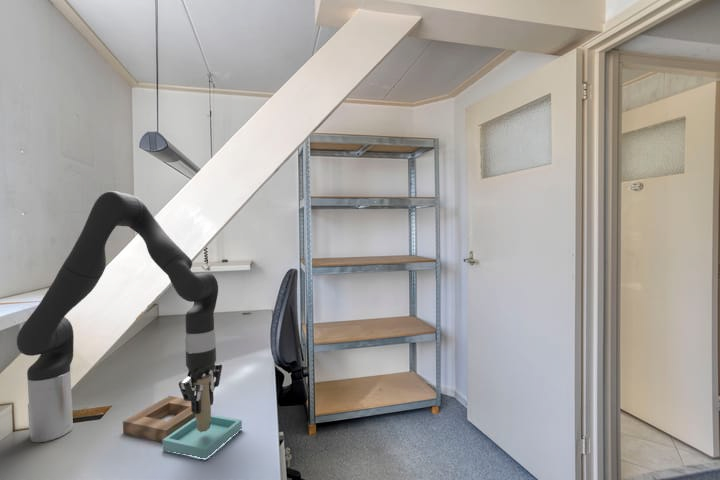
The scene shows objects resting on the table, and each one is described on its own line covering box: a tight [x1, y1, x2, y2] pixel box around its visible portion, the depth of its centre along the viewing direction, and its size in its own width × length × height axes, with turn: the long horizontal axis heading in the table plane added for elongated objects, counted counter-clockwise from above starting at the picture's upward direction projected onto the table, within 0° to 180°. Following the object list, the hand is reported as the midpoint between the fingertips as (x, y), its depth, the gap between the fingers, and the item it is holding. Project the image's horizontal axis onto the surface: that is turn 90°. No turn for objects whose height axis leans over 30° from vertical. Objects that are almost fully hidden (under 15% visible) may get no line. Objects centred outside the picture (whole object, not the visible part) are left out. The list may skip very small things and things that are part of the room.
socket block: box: [122, 395, 196, 443], centre depth 106 cm, size 16×16×4 cm
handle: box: [194, 374, 212, 432], centre depth 97 cm, size 5×6×15 cm
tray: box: [162, 414, 243, 458], centre depth 97 cm, size 14×14×3 cm
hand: (202, 408), depth 97 cm, fingers closed on handle, 4 cm apart
